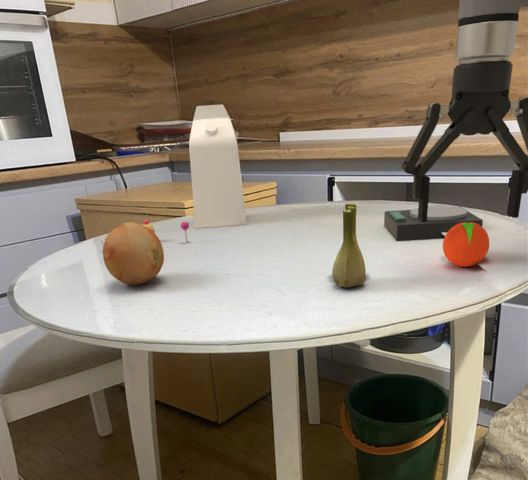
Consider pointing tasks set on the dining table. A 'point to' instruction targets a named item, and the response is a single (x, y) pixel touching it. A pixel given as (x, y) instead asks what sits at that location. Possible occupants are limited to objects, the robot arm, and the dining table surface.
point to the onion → (133, 253)
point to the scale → (438, 221)
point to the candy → (146, 223)
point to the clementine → (466, 244)
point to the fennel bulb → (349, 253)
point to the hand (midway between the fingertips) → (467, 218)
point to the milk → (215, 169)
